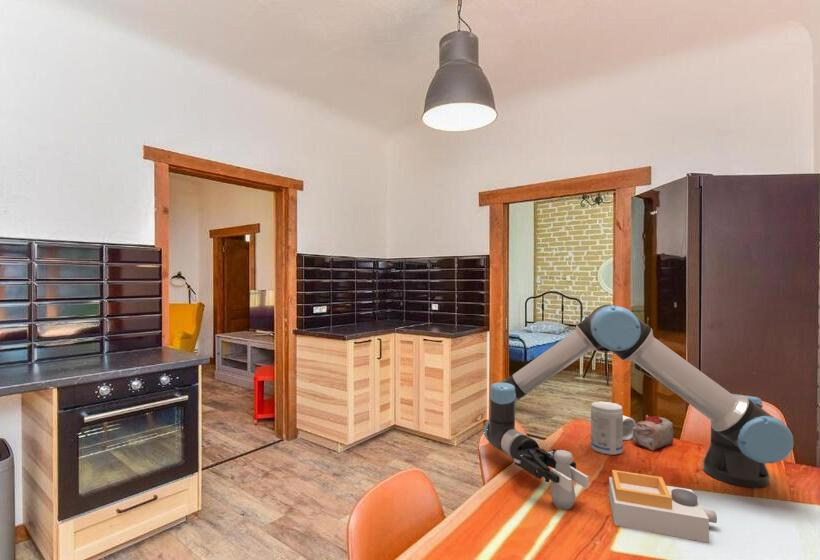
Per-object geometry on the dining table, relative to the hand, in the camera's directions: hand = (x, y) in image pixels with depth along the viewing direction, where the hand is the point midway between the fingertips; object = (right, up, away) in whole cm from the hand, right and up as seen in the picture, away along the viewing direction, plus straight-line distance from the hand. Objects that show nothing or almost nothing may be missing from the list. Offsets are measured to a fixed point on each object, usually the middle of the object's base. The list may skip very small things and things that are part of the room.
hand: (578, 484), depth 101 cm
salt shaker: (-2, -8, +5) cm, 9 cm away
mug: (+33, -9, +54) cm, 64 cm away
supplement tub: (+25, -8, +41) cm, 49 cm away
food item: (+43, -9, +46) cm, 64 cm away
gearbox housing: (+19, -8, -1) cm, 20 cm away
